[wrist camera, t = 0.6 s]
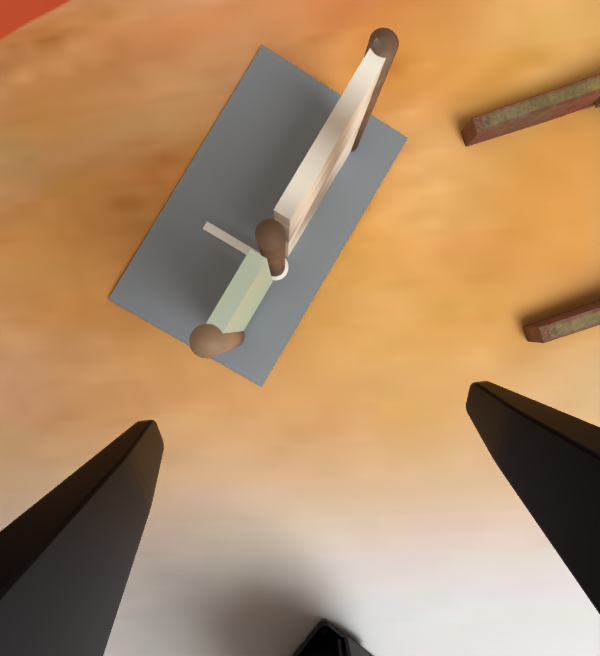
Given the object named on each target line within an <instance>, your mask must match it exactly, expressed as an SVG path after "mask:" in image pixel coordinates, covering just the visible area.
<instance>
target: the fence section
mask: <svg viewBox="0 0 600 656" xmlns="http://www.w3.org/2000/svg"><path fill="white" fill-rule="evenodd" d="M398 46H399V41H398V38H397V36H396V34H395V33H394V32H393V31H392V30H390V29H388V28H379V29H377V30H375V31H374V32H373V33H372V34H371V36H370V39H369V43H368V46H367V49H366V53H365V56H364V59H363V61H362V62H361V64H360V66H359V67H358V69H357V71H356V72H355V74H354V76H353V77H352V79H351V81H350V82H349V84H348V86H347V87H346V89H345V91H344V92H343V94H342V96H341V97H340V99H339V101H338V103H337V104H336V106H335V108H334V109H333V111H332V113H331V114H330V116H329V118H328V119H327V121H326V123H325V124H324V126H323V128H322V129H321V131H320V133H319V134H318V136H317V138H316V139H315V141H314V143H313V144H312V146H311V148H310V150H309V151H308V153H307V155H306V156H305V158H304V160H303V161H302V163H301V165H300V166H299V168H298V170H297V171H296V173H295V175H294V176H293V178H292V180H291V181H290V183H289V185H288V186H287V188H286V190H285V191H284V193H283V195H282V197H281V198H280V200H279V202H278V203H277V205H276V207H275V208H274V219H266V220H263V221H262V222H260V223H259V224H258V226H257V227H256V230H255V238H256V241H257V244H258V247H259V251H260V254H261V256H263V257H265V258H267V261H268V265H269V269H270V273H271V276H273V277H277V276H280V275H281V274H282V273H283V272H284V270H285V256H286V257H289V255H290V253H291V251H292V250H293V248H294V246H295V245H296V243H297V241H298V240H299V238H300V236H301V235H302V233H303V231H304V229H305V228H306V226H307V224H308V223H309V221H310V219H311V218H312V216H313V214H314V213H315V211H316V209H317V207H318V206H319V204H320V202H321V201H322V199H323V197H324V196H325V194H326V192H327V191H328V189H329V187H330V186H331V184H332V182H333V180H334V179H335V177H336V175H337V174H338V172H339V170H340V169H341V167H342V165H343V164H344V162H345V160H346V158H347V157H348V155H349V153H350V152H353V151H355V150H356V149H357V147H358V145H359V142H360V140H361V137H362V135H363V132H364V130H365V127H366V125H367V123H368V120H369V118H370V115H371V113H372V110H373V108H374V106H375V103H376V101H377V98H378V96H379V93H380V91H381V88H382V86H383V84H384V81H385V79H386V76H387V74H388V71H389V69H390V66H391V64H392V62H393V59H394V57H395V54H396V52H397V49H398Z"/></svg>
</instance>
